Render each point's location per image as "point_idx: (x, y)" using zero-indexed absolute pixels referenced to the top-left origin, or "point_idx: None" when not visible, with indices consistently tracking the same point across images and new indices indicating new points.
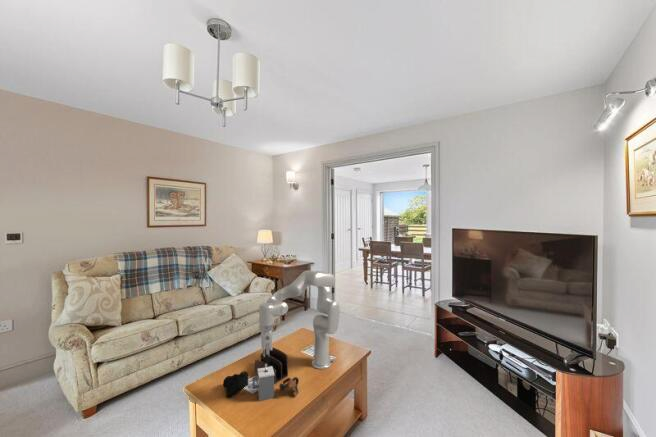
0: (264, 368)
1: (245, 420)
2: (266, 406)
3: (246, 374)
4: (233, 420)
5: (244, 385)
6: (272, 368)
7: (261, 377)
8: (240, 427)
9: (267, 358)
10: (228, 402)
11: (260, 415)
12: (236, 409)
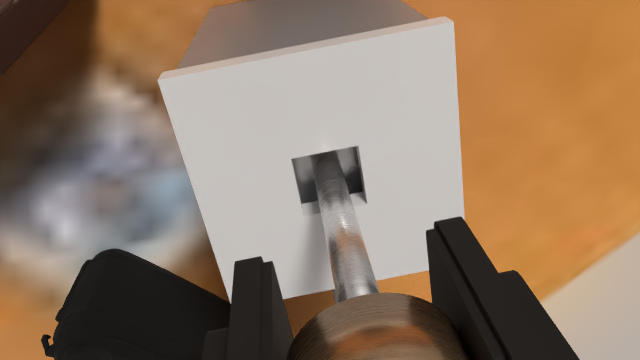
0: (232, 211)
1: (580, 197)
2: (472, 49)
3: (108, 336)
4: (547, 271)
5: (160, 282)
6: (249, 71)
7: None
8: (635, 217)
9: (562, 356)
10: None
11: (570, 93)
12: None
